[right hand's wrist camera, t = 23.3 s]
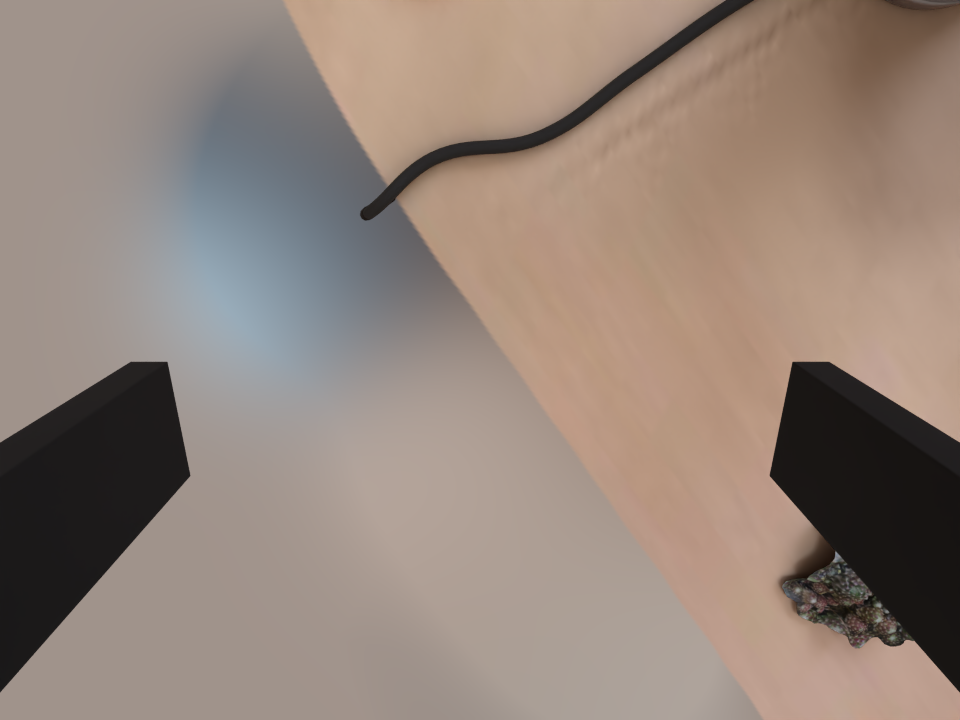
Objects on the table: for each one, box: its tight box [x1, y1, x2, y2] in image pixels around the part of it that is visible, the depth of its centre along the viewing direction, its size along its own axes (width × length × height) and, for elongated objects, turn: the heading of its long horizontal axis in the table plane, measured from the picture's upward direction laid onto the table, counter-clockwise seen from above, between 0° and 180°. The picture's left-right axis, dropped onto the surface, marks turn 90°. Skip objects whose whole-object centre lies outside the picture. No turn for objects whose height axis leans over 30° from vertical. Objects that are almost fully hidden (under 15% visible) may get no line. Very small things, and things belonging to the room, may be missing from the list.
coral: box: [782, 552, 914, 648], centre depth 56 cm, size 17×5×15 cm
